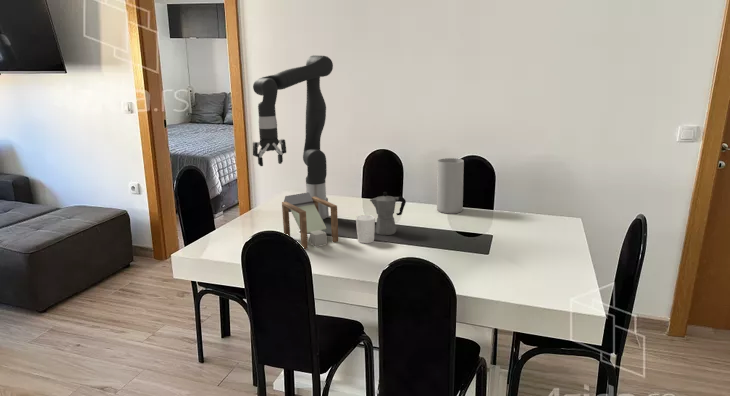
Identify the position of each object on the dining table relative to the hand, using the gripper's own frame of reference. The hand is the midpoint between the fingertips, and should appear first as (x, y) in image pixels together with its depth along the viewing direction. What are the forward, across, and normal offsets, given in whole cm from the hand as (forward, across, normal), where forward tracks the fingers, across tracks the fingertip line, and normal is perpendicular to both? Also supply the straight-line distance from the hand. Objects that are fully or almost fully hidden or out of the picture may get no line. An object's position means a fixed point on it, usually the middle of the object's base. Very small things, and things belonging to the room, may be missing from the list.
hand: (270, 164), depth 221 cm
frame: (+30, -8, +19) cm, 36 cm away
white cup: (+30, -26, +34) cm, 52 cm away
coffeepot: (+30, -40, +30) cm, 58 cm away
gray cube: (+28, -8, +23) cm, 37 cm away
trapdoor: (+23, -8, +13) cm, 27 cm away
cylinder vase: (+30, -84, +21) cm, 91 cm away
